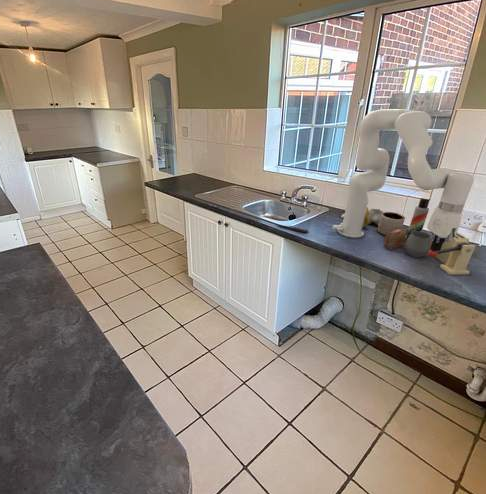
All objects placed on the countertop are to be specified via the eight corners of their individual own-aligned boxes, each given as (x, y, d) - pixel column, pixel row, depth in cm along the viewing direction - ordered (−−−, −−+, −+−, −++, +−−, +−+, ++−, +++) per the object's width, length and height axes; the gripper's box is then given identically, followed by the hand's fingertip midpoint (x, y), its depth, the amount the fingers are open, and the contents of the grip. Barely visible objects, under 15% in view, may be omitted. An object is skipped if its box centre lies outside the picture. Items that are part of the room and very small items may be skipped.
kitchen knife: (351, 209, 191) (348, 209, 192) (351, 208, 191) (348, 207, 192) (342, 218, 178) (339, 217, 179) (343, 217, 178) (339, 216, 179)
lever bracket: (449, 274, 124) (461, 246, 119) (439, 266, 130) (450, 239, 124) (469, 274, 125) (481, 246, 119) (458, 266, 130) (469, 239, 124)
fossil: (374, 207, 184) (394, 201, 169) (380, 224, 183) (400, 220, 169) (350, 215, 180) (368, 210, 165) (356, 233, 179) (375, 229, 165)
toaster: (445, 264, 132) (455, 239, 126) (427, 251, 142) (435, 227, 137) (459, 264, 132) (469, 239, 126) (439, 251, 142) (448, 227, 137)
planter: (395, 229, 165) (400, 212, 161) (403, 237, 155) (409, 220, 151) (374, 227, 166) (378, 211, 162) (381, 236, 157) (385, 218, 152)
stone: (371, 222, 168) (369, 229, 161) (351, 224, 174) (348, 231, 166) (368, 200, 164) (367, 207, 156) (348, 202, 170) (345, 209, 162)
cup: (411, 260, 135) (418, 239, 130) (398, 250, 143) (404, 230, 139) (431, 258, 136) (439, 238, 131) (416, 249, 144) (423, 229, 140)
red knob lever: (430, 259, 123) (431, 252, 121) (425, 255, 125) (426, 248, 124) (469, 251, 121) (471, 244, 120) (463, 247, 124) (464, 241, 123)
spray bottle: (405, 235, 157) (417, 198, 148) (408, 232, 161) (420, 195, 152) (418, 238, 154) (431, 201, 145) (420, 235, 158) (433, 198, 149)
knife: (277, 224, 170) (275, 226, 168) (278, 223, 170) (275, 224, 168) (307, 231, 162) (305, 233, 160) (308, 230, 162) (306, 232, 159)
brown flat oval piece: (386, 251, 142) (391, 235, 138) (380, 248, 145) (384, 232, 141) (406, 244, 148) (411, 228, 145) (400, 241, 151) (405, 226, 147)
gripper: (427, 200, 121) (414, 241, 129) (455, 213, 107) (438, 259, 116) (446, 200, 121) (431, 241, 129) (476, 213, 108) (458, 259, 116)
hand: (434, 249), depth 122 cm, fingers closed
